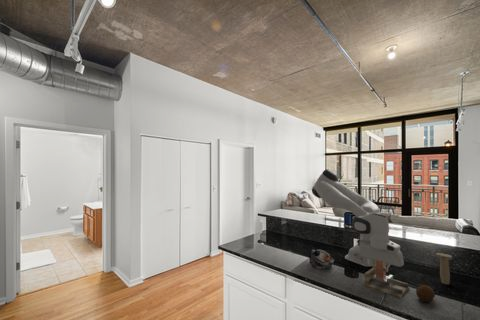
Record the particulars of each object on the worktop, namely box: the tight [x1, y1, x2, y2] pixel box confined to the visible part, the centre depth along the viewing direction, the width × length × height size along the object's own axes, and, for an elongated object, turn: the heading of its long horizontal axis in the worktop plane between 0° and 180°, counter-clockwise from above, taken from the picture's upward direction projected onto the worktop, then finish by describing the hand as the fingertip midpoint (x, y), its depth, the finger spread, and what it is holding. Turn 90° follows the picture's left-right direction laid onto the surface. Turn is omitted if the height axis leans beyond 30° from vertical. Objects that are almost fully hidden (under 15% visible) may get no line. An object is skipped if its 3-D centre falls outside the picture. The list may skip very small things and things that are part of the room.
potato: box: [415, 284, 436, 303], centre depth 106 cm, size 7×12×7 cm, turn 137°
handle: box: [435, 252, 453, 285], centre depth 121 cm, size 5×6×15 cm
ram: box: [371, 260, 394, 286], centre depth 119 cm, size 8×7×12 cm
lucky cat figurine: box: [309, 248, 335, 270], centre depth 143 cm, size 15×12×14 cm
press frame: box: [364, 267, 410, 299], centre depth 118 cm, size 16×13×6 cm
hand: (380, 269), depth 120 cm, fingers closed on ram, 4 cm apart
